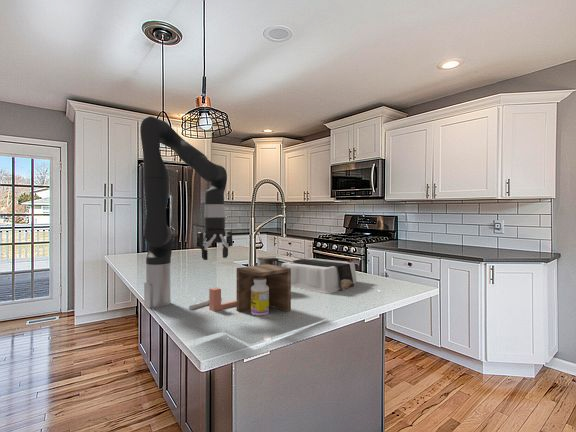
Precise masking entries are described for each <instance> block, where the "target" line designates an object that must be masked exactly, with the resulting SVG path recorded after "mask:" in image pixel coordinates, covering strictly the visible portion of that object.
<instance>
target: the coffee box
mask: <svg viewBox="0 0 576 432" xmlns="http://www.w3.org/2000/svg"><path fill="white" fill-rule="evenodd" d="M264 264H270V265H275V266H280V264H279V258H278V257H275V256H274V257H273V256H272V257H257V265H264Z"/></svg>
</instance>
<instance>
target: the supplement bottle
mask: <svg viewBox="0 0 576 432" xmlns="http://www.w3.org/2000/svg"><path fill="white" fill-rule="evenodd" d="M269 311H270V306H269V287H268V286H267V285H266V278H254V285H253V286H252V287H251V309H250V314H251V315H253V316H256V317H259V316H261V317H262V316H266V315H268V314H269Z"/></svg>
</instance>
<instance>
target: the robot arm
mask: <svg viewBox="0 0 576 432" xmlns="http://www.w3.org/2000/svg"><path fill="white" fill-rule="evenodd" d="M139 128H140V129H139V130H140V132H139V133H140V140H141V146H142V147H141V148H142V158H143V186H144V187H143V188H144V203H145V223H144V224H145V227H144V239H145V242H146V243H147V255H146V258H145V259H146V260H145V280H146V281H145V282H144V286H143V287H144V289H143V294H144V295H143V300H144V301H143V303H144V304H143V305H144V306H145V307H147V308H149V309H153V308H154V309H157V308H164V307H167V306H168V307H169V306H170V305H171V304H172V303H171V302H172V301H171V300H172V299H171V297H172V295H171V283H172V282H171V277H172V276H171V274H172V273H171V270H172V269H171V266H172V265H171V261H172V260H171V258H172V248H173V246H172V245H173V236H172V235H173V234H172V230H171V228H170V227H169V225H168V224H167V207H168V206H167V205H168V200H169V199H168V198H169V193H170V189H169V188H170V182H169V181H170V180H169V178H170V177H169V173H168V169H167V166H166V164H165V162H164V160H163V158H162V155H161V149H160V148H161V147H160V144H162V145H164V146H166V147H168V148H169V149H171V150H172V151H173V152H175V154H176V156H178V158H179V159H180V160H181V161H182V162H183V163H185V164H186V165H187V166H189V167H190V169H191V168H192V169H193V170H194V171H195V172H196V173H197V174H198V176H200V177H201V178H202V179H203V180H204V181H206V182H208V183H210V185H209V189H206V191H205V199H204V200H205V201H204V202H205V205H204V229H205V230H204V232H201V231H199V232H197V234H196V248H197V249H200V250H201V258H202V259H203V261H208V259H209V258H208V257H209V256H208V253H209V252H208V248H209V247H210V246H211V245H212V244H216V243H217V244H218V243H219V244H220V245H221V246H222V258H224V259H227V258H228V257H229V248H230V247H233V245H234V242H233V232H232V231H231V230H225V228H226V209H225V192H226V191H225V190H226V188H227V181H228V174H227V170H226V168H225V167H224V166H222V165H220V164H217V163H214V162H212V161H210V160H209V159H208V157H207V155H205V154H204V153H203V152H202V151H200V150H199V149H197V148H196V147H194V146H193V145H191V144H190V143H189V142H188V141H186V140H185V139H184V138H183V137H182V136H181V135H179V134H178V133H177V131H176V130H175V129H174V128H173V127H172V126H171V124H169V123H168V122H166V121H164V120H162V119H160V118H157V117H155V116H146V117H144V118H143V119H142V120H141V123H140V127H139ZM204 238H205V240H204Z"/></svg>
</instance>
